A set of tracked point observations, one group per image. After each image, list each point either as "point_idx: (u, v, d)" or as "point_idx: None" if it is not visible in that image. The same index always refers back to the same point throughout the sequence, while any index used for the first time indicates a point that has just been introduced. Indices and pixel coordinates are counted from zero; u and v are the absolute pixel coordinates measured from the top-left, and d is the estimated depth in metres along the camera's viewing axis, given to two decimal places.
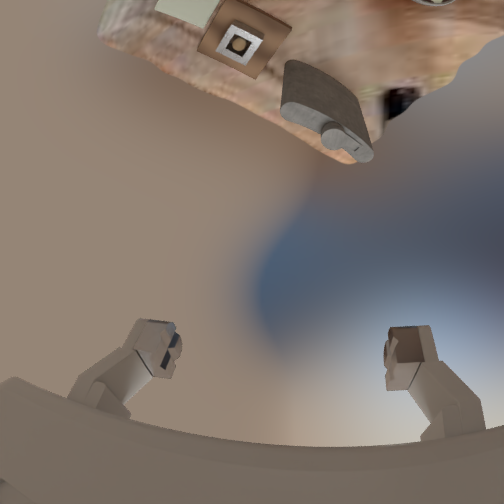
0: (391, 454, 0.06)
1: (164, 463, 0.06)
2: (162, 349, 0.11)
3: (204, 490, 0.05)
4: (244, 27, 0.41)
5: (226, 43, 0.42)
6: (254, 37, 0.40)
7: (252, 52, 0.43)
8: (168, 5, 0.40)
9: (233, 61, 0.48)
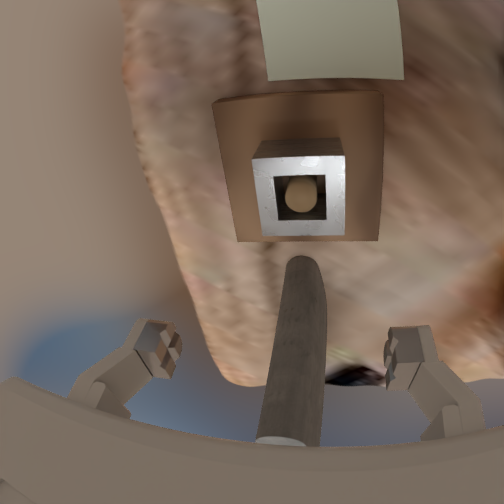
0: (391, 454, 0.06)
1: (164, 463, 0.06)
2: (162, 349, 0.11)
3: (204, 490, 0.05)
4: None
5: (288, 171, 0.19)
6: (341, 217, 0.20)
7: (303, 232, 0.21)
8: None
9: (242, 186, 0.24)
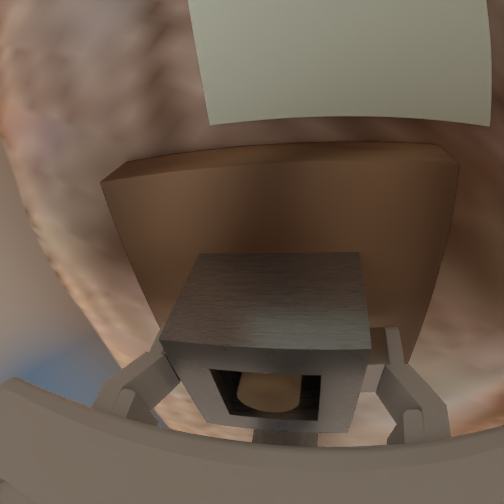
0: (391, 454, 0.06)
1: (164, 463, 0.06)
2: None
3: (205, 490, 0.05)
4: None
5: (238, 366, 0.08)
6: (344, 419, 0.09)
7: (274, 428, 0.11)
8: None
9: None
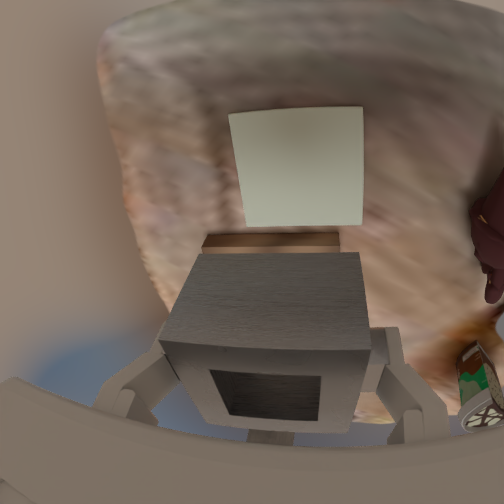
0: (391, 454, 0.06)
1: (164, 463, 0.06)
2: None
3: (204, 490, 0.05)
4: None
5: (238, 367, 0.08)
6: (344, 419, 0.09)
7: (274, 428, 0.11)
8: (254, 139, 0.23)
9: None
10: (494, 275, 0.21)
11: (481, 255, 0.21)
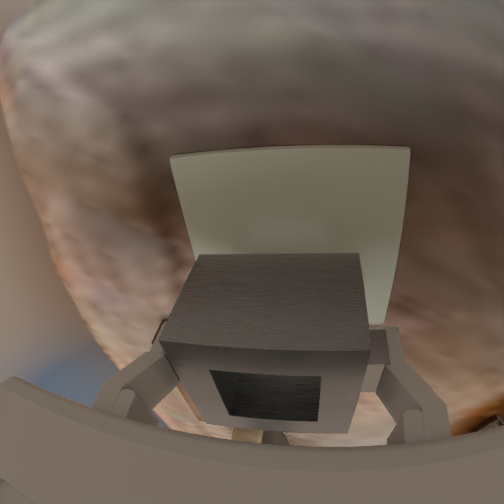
0: (391, 454, 0.06)
1: (164, 463, 0.06)
2: None
3: (204, 490, 0.05)
4: None
5: (238, 367, 0.08)
6: (344, 420, 0.09)
7: (274, 428, 0.11)
8: (216, 200, 0.14)
9: None
10: None
11: None
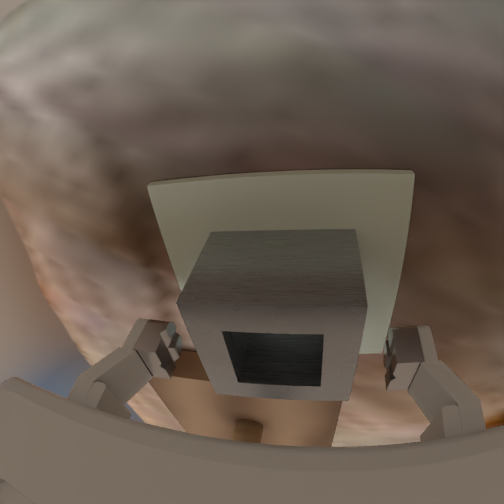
0: (391, 454, 0.06)
1: (164, 463, 0.06)
2: (162, 349, 0.11)
3: (204, 490, 0.05)
4: None
5: (249, 327, 0.10)
6: (345, 384, 0.11)
7: (280, 396, 0.12)
8: (199, 231, 0.13)
9: (190, 420, 0.21)
10: None
11: None
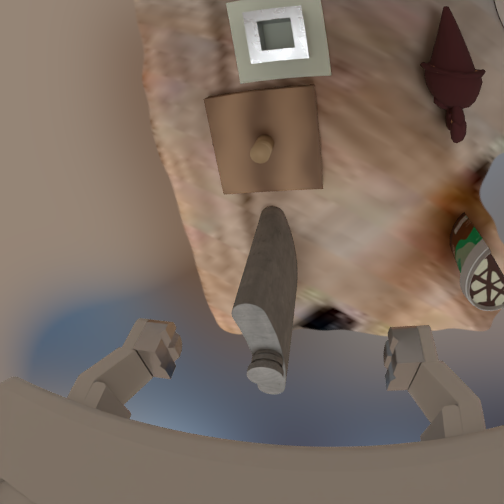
0: (391, 454, 0.06)
1: (164, 463, 0.06)
2: (162, 349, 0.11)
3: (204, 490, 0.05)
4: (304, 25, 0.25)
5: (265, 17, 0.23)
6: (304, 45, 0.25)
7: (279, 57, 0.26)
8: None
9: (225, 154, 0.35)
10: (453, 112, 0.25)
11: (436, 93, 0.25)
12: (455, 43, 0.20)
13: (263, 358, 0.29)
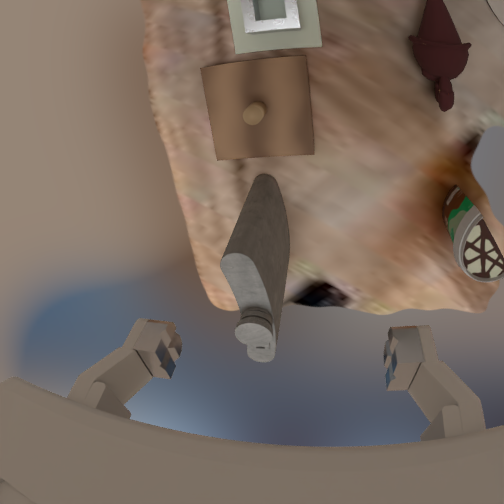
0: (391, 454, 0.06)
1: (164, 463, 0.06)
2: (162, 349, 0.11)
3: (204, 490, 0.05)
4: None
5: None
6: (296, 15, 0.25)
7: (272, 27, 0.26)
8: None
9: (219, 120, 0.35)
10: (440, 82, 0.25)
11: (424, 64, 0.25)
12: (441, 17, 0.20)
13: (252, 315, 0.29)
